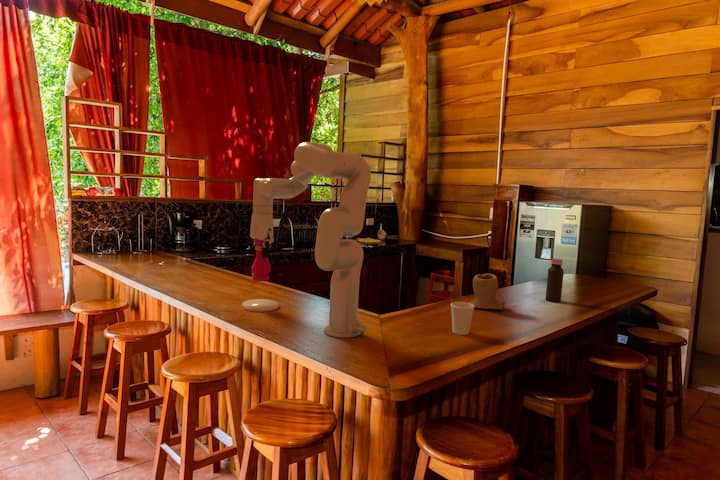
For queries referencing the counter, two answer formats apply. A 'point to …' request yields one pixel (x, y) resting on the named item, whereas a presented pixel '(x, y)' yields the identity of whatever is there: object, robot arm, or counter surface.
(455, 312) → the dixie cup
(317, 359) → the counter surface
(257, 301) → the disc
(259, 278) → the pepper mill
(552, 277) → the bottle
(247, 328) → the counter surface
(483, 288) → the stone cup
